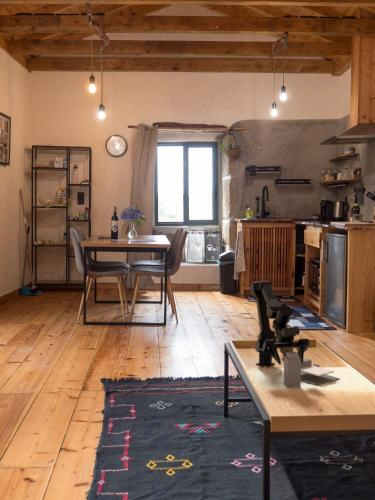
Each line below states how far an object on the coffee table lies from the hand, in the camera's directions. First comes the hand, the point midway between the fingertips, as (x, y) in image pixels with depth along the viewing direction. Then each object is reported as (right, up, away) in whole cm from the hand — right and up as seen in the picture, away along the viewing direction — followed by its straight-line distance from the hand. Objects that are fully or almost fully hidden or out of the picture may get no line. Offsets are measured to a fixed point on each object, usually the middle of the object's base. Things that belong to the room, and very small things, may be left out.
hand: (291, 363), depth 210 cm
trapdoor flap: (+11, -5, +10) cm, 16 cm away
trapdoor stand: (+10, -8, +11) cm, 17 cm away
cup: (+7, -7, +46) cm, 47 cm away
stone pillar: (0, -9, -1) cm, 9 cm away
